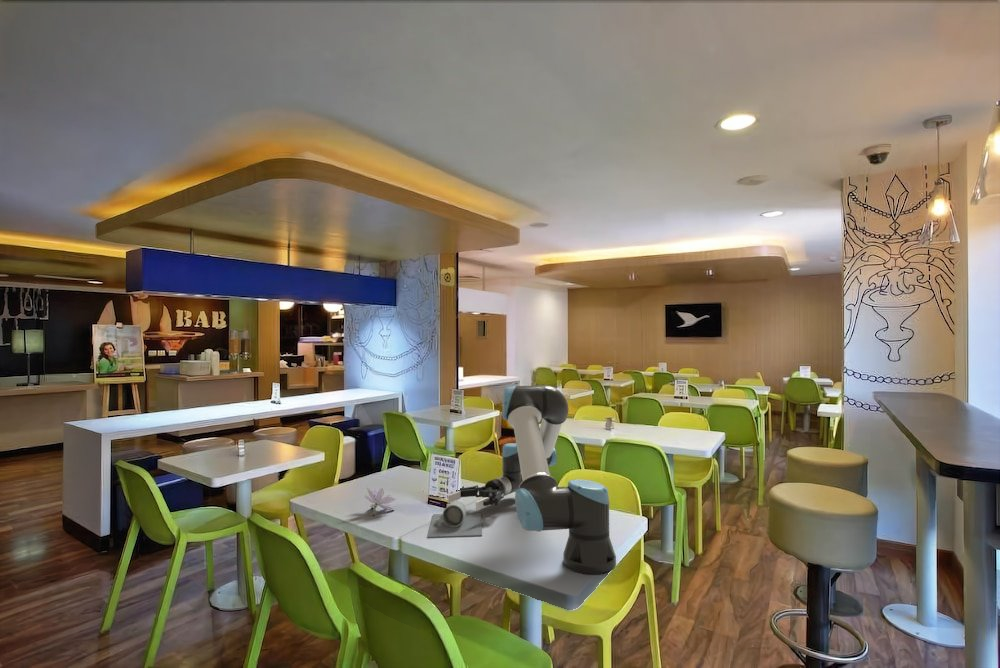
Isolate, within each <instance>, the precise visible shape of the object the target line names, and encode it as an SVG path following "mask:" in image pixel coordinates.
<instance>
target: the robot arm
mask: <svg viewBox="0 0 1000 668" xmlns="http://www.w3.org/2000/svg"><path fill="white" fill-rule="evenodd" d="M502 397H503V398H502V412H501V413H502V419H503V420H505V421H507V422H508V424H509V426H510V427H511V428H513V431H514V437H515V443H514V442H508V443H505V444H503V445H502V455H501V456H502V459H501V460H502V475H501V476H499V477H496V478H494V479H490V480H488V481H487V482H486V483H485V484H484V485H483V486H480V487H479V485H474V486H473V485H472V486H467V487H464V488H460V490H458V491H457V490H456V492H455V493H452V494H449V495H447V499H446V501H447V503H448V504H450V503H451V502H453V501H459V500H460V499H461V498H470V497H476V498H482V499H479V500H476V501H475V510H477V511H478V510H481V509H484V508H486V507H487V506H493V505H494V506H499V504H500V502H501V501H502V499H504V498H505V496H508V495H510V494H512V493H514V501H515V502H514V503H515V510H516V511H515V512H516V514H517V518H518V521H519V524H520V527H522V529H524V530H525V531H528V532H539V533H540V532H541V531H543V532H544V531H557V530H558V531H559V530H568V537H567V541H566V544H565V547H564V550H563V557H562V558H563V560H562V561H563V564H564V566H565V567H566V568H568V569H570V571H573V572H576V573H580V574H587V575H601V574H606V573H609V572H612V571H613V570H614V569H615V568H616V567H617V556H616V553H615V550H614V547H613V543H612V541H611V538H610V503H611V502H610V496H609V489H608V488H607V487H606V486H605V485H604V484H601V483H599V482H596V481H593V480H588V479H582V478H581V479H577V478H575V479H571V480H569V481H568V483H567V486H559V485H558V482H557V480H556V479H555V478H554V476H552V475H551V473H550V469H549V467H552V466H555V465H556V464H557V458H558V457H557V450H556V449H555V448H556V443H557V440H558V438H559V434H560V431H561V427H562V425H563V424H564V423H565V422H566V420H567V419H568V416H569V404H568V401H567V399H566V397H565V396H564V394H563V393H562V392H561V391H560V390H558V388H556V387H553V386H551V385H547V384H546V385H544V384H543V385H510V386H507V387H505V388H504V391H503V396H502ZM540 422H541V423H540Z"/></svg>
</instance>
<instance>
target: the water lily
mask: <svg viewBox="0 0 1000 668" xmlns="http://www.w3.org/2000/svg"><path fill="white" fill-rule="evenodd" d="M366 490H367V493H368V496H367V495H365V494H363V496H364V498H365V500H368V501H369V502H371V504H370V509H371V508H374V509H372V513H371V515H372V514H374V515H375V512H376V508H378V506H379V507H380V508H381V509H385V510H387V511H391V510H395V508H393V507H392V506H391V505H390V503H392V502H394V501H396V498H395V497H392V496H391V495H386V496H384V494H385V491H384V488H383V487H382V488H379V489H378V491H377V489H376V488H375V487H374V489H373V491H372V489H370V488H369V487H366Z"/></svg>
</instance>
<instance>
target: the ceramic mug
mask: <svg viewBox="0 0 1000 668" xmlns="http://www.w3.org/2000/svg"><path fill="white" fill-rule="evenodd" d="M466 513H467V507H466V505H465V504H464V503H463V502H462V501H460V500H455V501H453V502H450V503H448V504H447V506H446V507H445V508H444V509H443V511H442V513H441V514H442V516H440V517H438V518H437V519H436V522H437V524H441V523H443V522H444V523H445V524H446V525H447V526H449V527H458V526H459V525H460V524H461V523H462V522H463V520H464V518H465V515H466Z"/></svg>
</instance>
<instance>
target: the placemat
mask: <svg viewBox="0 0 1000 668" xmlns="http://www.w3.org/2000/svg"><path fill="white" fill-rule="evenodd" d="M442 514H443V513H433V514H432V517H431V520H430V521H431V522H430V525H429V529H428V534H427V538H429V539H434V538H435V537H438V538H456V537H457V538H461V537H462V538H464V537H465V538H467V537H468V538H469V537H470V538H471V537H482V536H483V529H482V528H483V527H482V526H483V525H482V512H466V515H465V518H464V520H463V522H462V523H461V524H460V525H459V526H458V527H449V526H447V525H446V524H445V523H444V522H443V523H441V524H437V522H436V519H437V518H438V517H440V516H442ZM435 539H436V538H435Z"/></svg>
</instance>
